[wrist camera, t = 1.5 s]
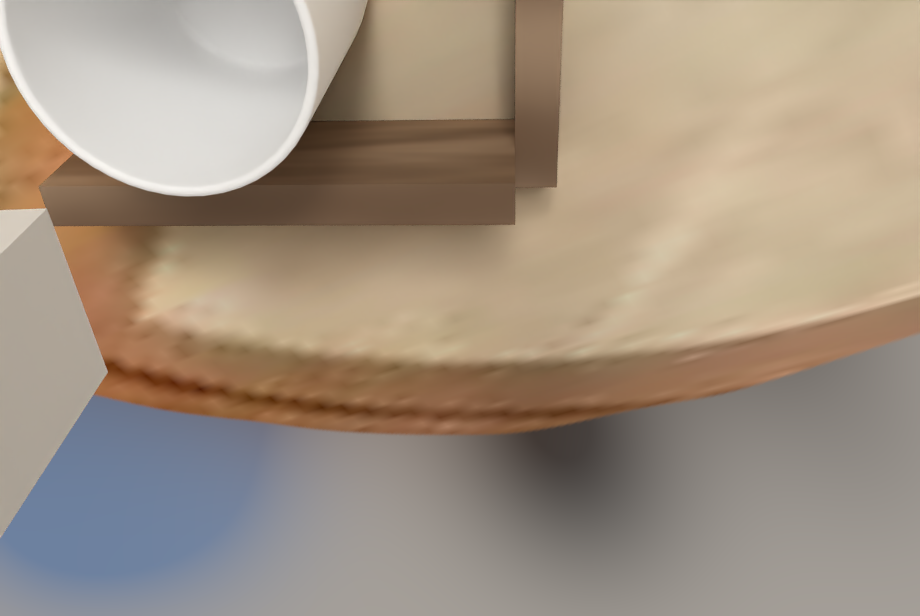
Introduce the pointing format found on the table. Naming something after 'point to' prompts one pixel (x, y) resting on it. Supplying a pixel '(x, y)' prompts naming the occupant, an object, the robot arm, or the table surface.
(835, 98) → the table surface
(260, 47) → the mug
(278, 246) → the table surface
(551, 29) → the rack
